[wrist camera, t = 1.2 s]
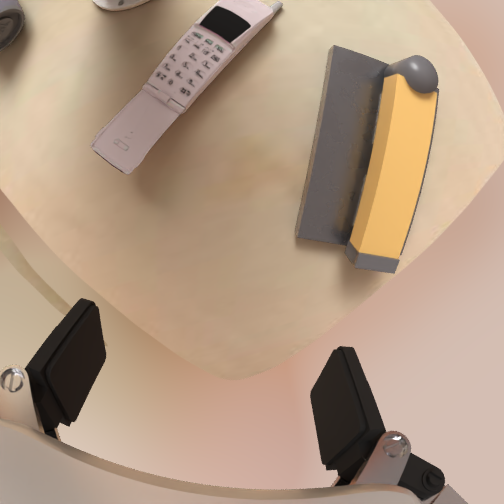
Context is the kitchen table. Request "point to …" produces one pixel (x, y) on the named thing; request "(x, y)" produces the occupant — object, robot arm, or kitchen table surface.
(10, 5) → the bluetooth speaker
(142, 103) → the mobile phone
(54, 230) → the kitchen table surface
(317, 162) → the plate
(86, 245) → the kitchen table surface
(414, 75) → the bar
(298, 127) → the kitchen table surface
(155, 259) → the kitchen table surface
